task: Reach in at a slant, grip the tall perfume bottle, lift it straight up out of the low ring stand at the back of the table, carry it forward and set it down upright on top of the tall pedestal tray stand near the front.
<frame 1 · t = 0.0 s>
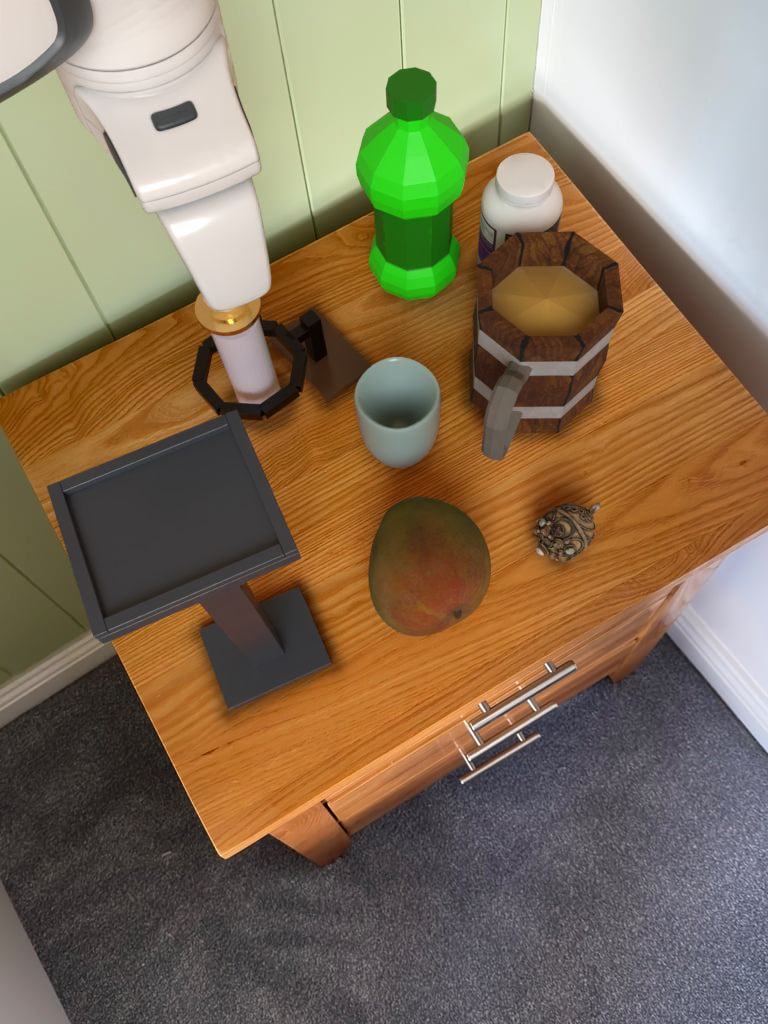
hand: (209, 243, 56), 31 cm above the table, tool pointing down, fingers open, 8 cm apart
mug: (519, 404, 86), on the table
ring stand: (261, 400, 87), on the table
pendant: (564, 538, 80), on the table
cup: (400, 444, 85), on the table
pedestal tray stand: (266, 648, 77), on the table
perfume bottle: (261, 401, 87), on the table
plastic bottle: (414, 280, 92), on the table
pill bottle: (511, 274, 92), on the table
fruit: (423, 579, 79), on the table
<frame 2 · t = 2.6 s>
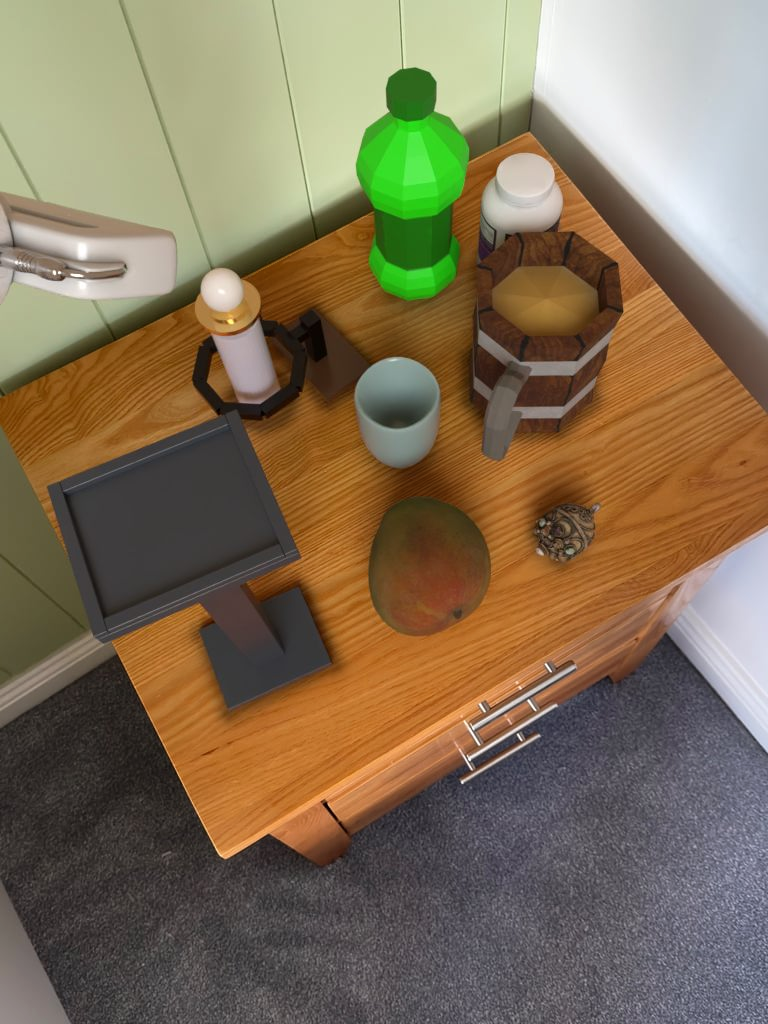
hand: (111, 229, 58), 31 cm above the table, tool tilted 50°, fingers open, 8 cm apart
nothing on the table moved.
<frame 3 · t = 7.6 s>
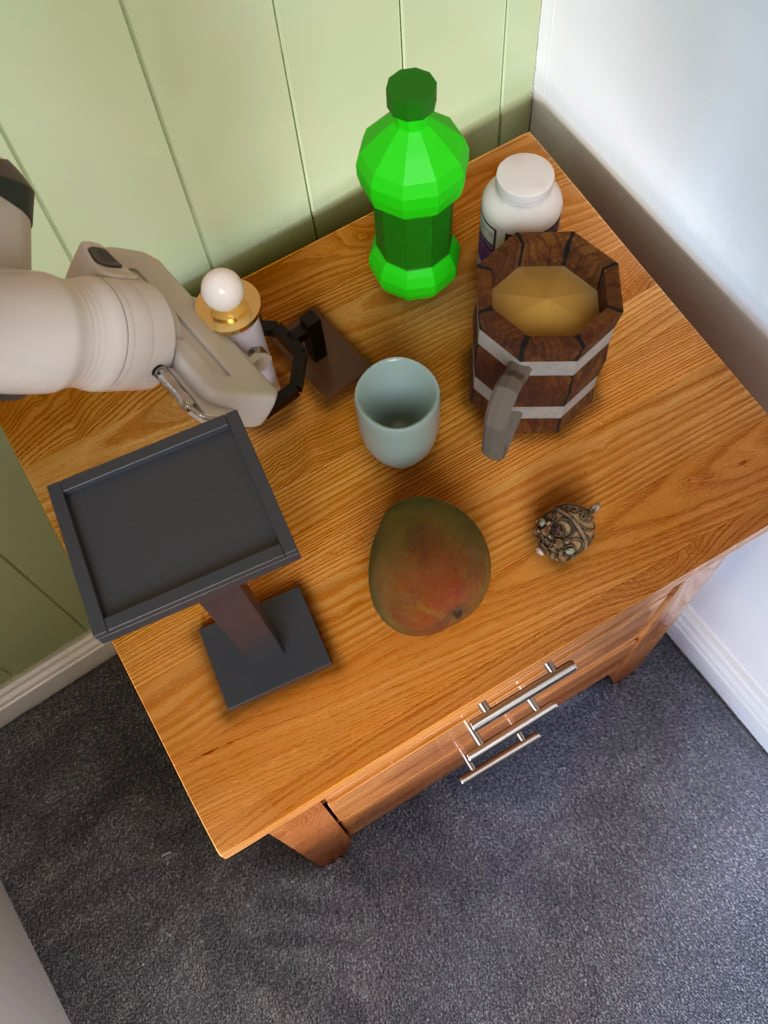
hand: (246, 338, 78), 10 cm above the table, tool tilted 45°, fingers closed on perfume bottle, 4 cm apart
perfume bottle: (261, 400, 87), on the table, touching gripper
everything else where it was.
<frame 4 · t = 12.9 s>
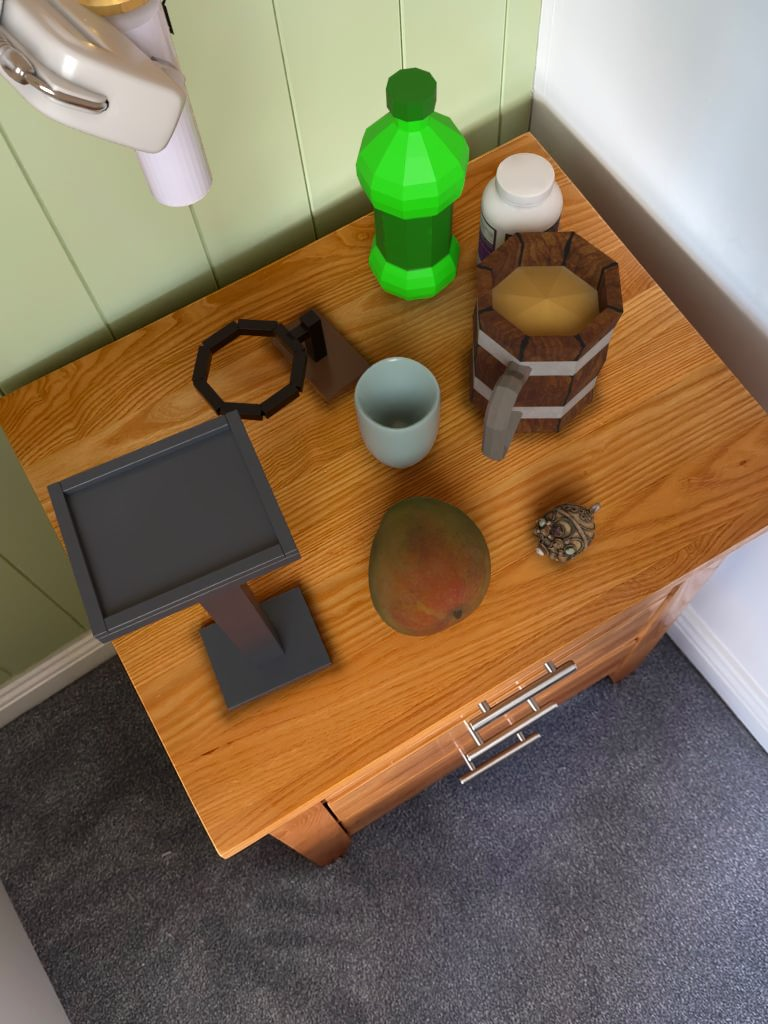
hand: (148, 58, 51), 40 cm above the table, tool tilted 45°, fingers closed on perfume bottle, 4 cm apart
perfume bottle: (184, 192, 61), point 29 cm above the table, touching gripper
everything else where it was.
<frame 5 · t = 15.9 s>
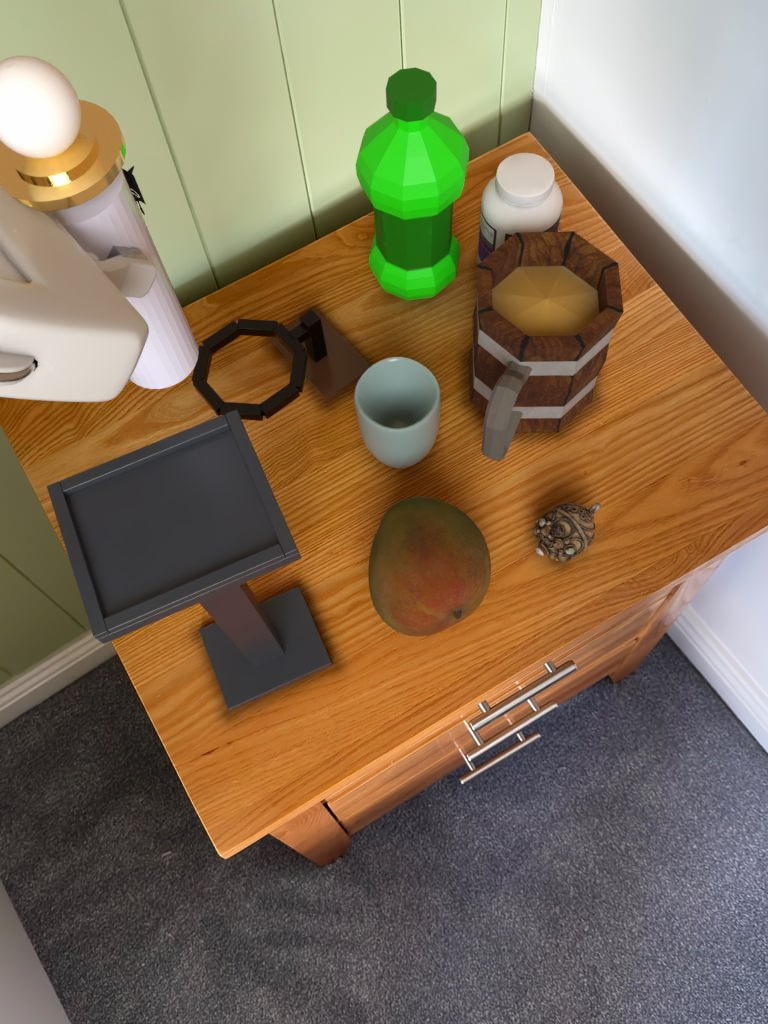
hand: (112, 237, 40), 44 cm above the table, tool tilted 45°, fingers closed on perfume bottle, 4 cm apart
perfume bottle: (164, 364, 50), point 33 cm above the table, touching gripper
everything else where it was.
when the fingers open (41 cm above the table, at t = 18.4 s): perfume bottle stays where it is, resting on pedestal tray stand.
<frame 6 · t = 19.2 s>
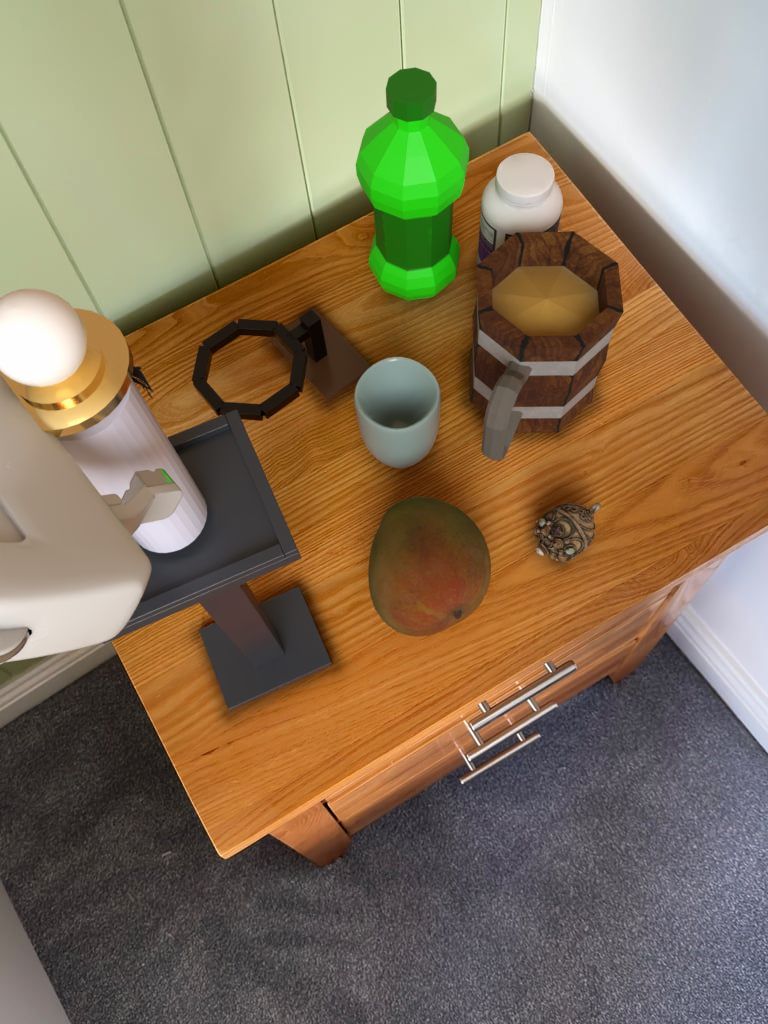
hand: (113, 421, 38), 42 cm above the table, tool tilted 45°, fingers open, 8 cm apart
perfume bottle: (172, 522, 48), point 31 cm above the table, touching pedestal tray stand
everything else where it was.
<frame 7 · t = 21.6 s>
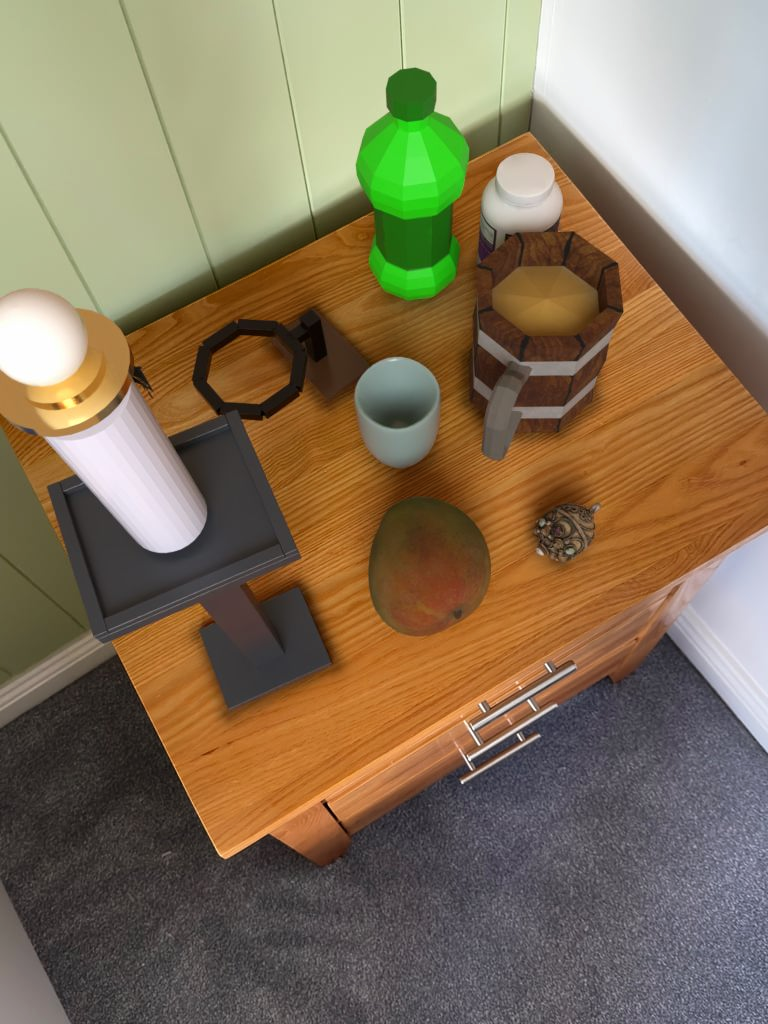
nothing on the table moved.
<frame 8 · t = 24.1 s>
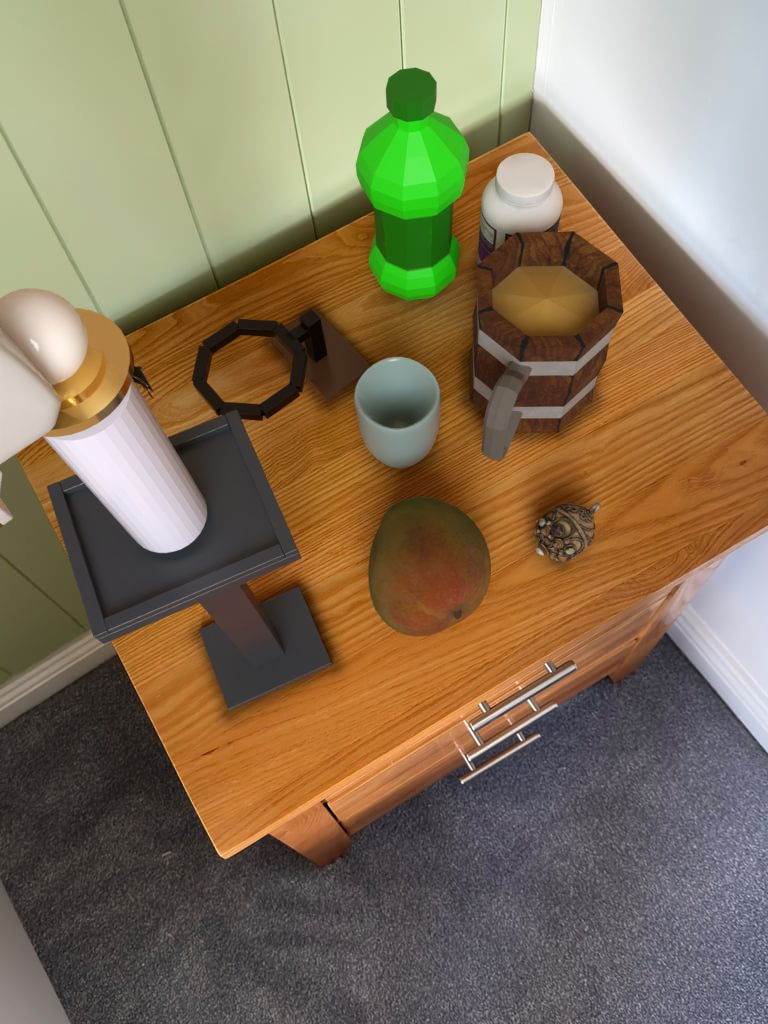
nothing on the table moved.
at the end: perfume bottle 0.0 cm off-centre on the pedestal tray stand, point 30.8 cm above the pedestal tray stand's base; perfume bottle tilted 0°; perfume bottle touching pedestal tray stand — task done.
